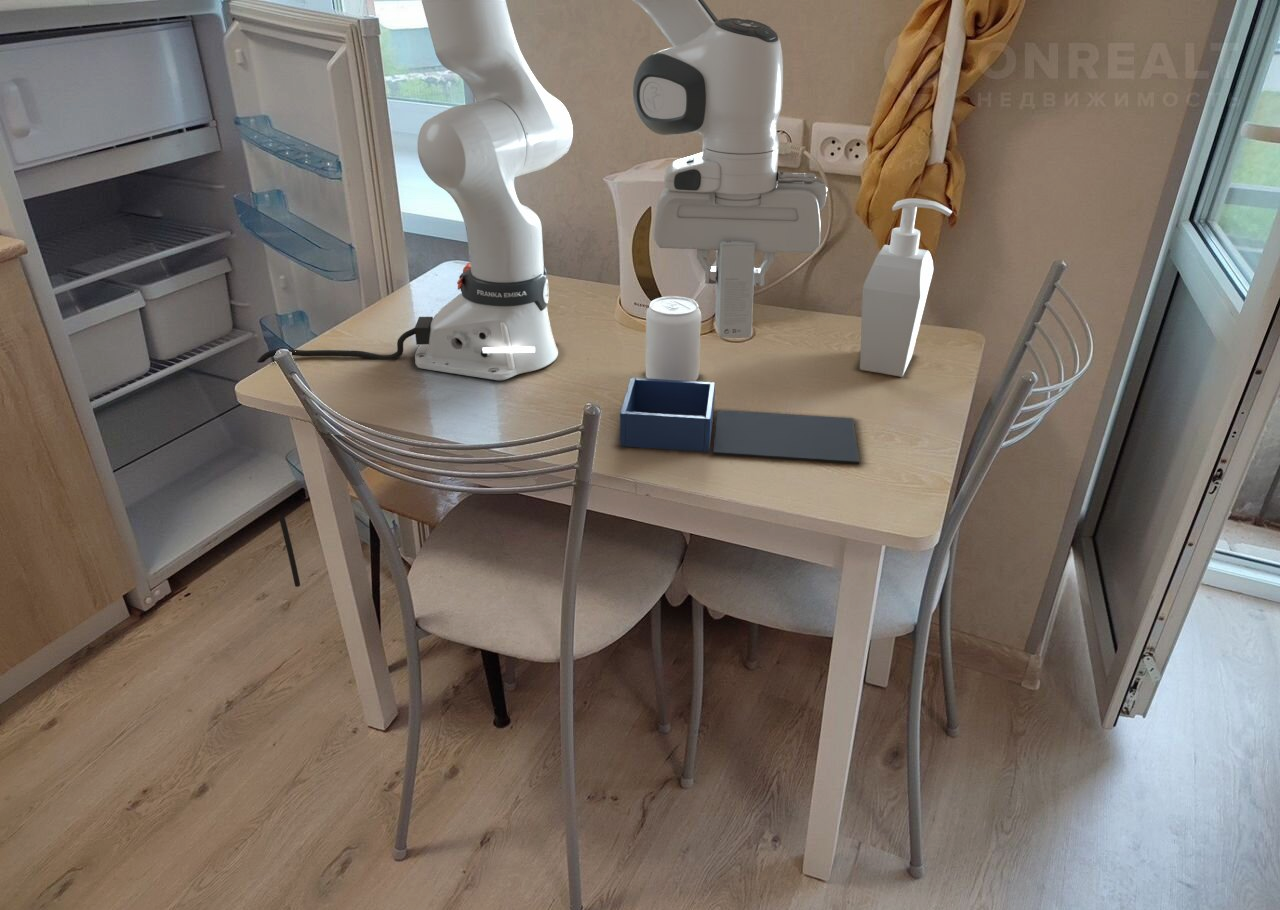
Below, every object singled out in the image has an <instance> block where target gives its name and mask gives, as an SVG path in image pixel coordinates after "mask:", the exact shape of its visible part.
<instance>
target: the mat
mask: <svg viewBox="0 0 1280 910" xmlns="http://www.w3.org/2000/svg"><path fill="white" fill-rule="evenodd" d="M714 431H715V432H714V438H713V439H714V441H713V448H712V449H713V450H712V455H714V456H728V457H729V456H730V457H744V458H760V459H774V460H775V459H776V460H790V461H804V462H805V461H806V462H816V463H817V462H819V463H832V464H833V463H834V464H847V465H848V464H849V465H860V457H859V451H858V449H859V448H858V444H857V437H856V436H857V435H856V430H855V424H854V418H852V417H837V416H836V417H835V416H824V415H823V416H822V415H804V414H790V413H789V414H788V413H772V412H756V411H743V410H725V409H724V410H723V409H717V414H716V423H715V430H714Z"/></svg>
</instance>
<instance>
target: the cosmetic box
mask: <svg viewBox="0 0 1280 910" xmlns="http://www.w3.org/2000/svg"><path fill="white" fill-rule="evenodd" d="M755 253H756V251H755V243H753V242H744V241H721V242H720V250H715V267H717V284H715V323H716V328H717V332H718V336H719V337H720V338H725V339H726V338H727V339H742V338H743V339H744V338H745V339H747V338H751V337H752V335H753V313H754V312H753V310H754V309H753V308H754V306H753V305H754V268H755Z"/></svg>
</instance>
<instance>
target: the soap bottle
mask: <svg viewBox="0 0 1280 910" xmlns="http://www.w3.org/2000/svg"><path fill="white" fill-rule="evenodd" d="M918 208H922V209H932V210H935V211H937V212H940V213H942V214H943V215H945V216H947V217H950V216H951V215H952V213H953V210H951V209H950V208H949V207H947V206H945V205H944V204H942V203H939V202H938V201H934V200H930V199H923V198H916V197H914V198H913V197H911V198H903V199H900V200H897V201H895V203H894V204H893V206H891V210H892V212H895V211H897V210H899V209H900V210H901V215H900V216H901V217H900V221H899V222H900V223H899V226H898V227H894V228H892V229H891V235H890V240H889V241H890V242H889V245H888V244H884V245H883V246H882V247H881V249H880V251H878V253H877V255H876V256H875V259H874V262H873V264H872V266H871V268H870V270H869V272H868V274H867V276H866V279H865V281H864V284H863V286H862V294H861V295H862V296H861V297H862V299H861V326H860V328H861V329H860V351H859V352H860V353H859V354H860V355H859V370H861V371H867V372H871V373H877V374H884V375H888V376H889V375H890V376H894V377H900V378H903V377H904V374H905V372H906V371H907V368H908V366H909V364H910V361H911V360H912V358H913V354H914V350H915V346H916V342H917V338H918V334H919V330H920V326H921V321H922V318H923V315H924V314H923V313H924V310H925V307H926V302H927V297H928V293H929V290H930V286H931V282H932V278H933V273H934V261H933V257H932V254H931V252H930V251H929V250H928V249H921V248H919V246H920V238H921V231H920V230H919V229H917V228H915V222H916V216H917V212H918V211H917V210H918Z"/></svg>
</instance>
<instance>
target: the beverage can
mask: <svg viewBox="0 0 1280 910" xmlns="http://www.w3.org/2000/svg"><path fill="white" fill-rule="evenodd" d="M701 312H702V311H701V309H699V304H698V302H697V301H696V300H694V299H692V298H689V297H685V296H680V295H667V296H661V297H657V298H655V299H653V300H651V301H650V302H649V307H648V308H647V310H646V313H645V378H647V379H664V380H681V381H698V379H699V377H700V354H701V353H700V352H701V329H702V328H701V327H702V313H701Z"/></svg>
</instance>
